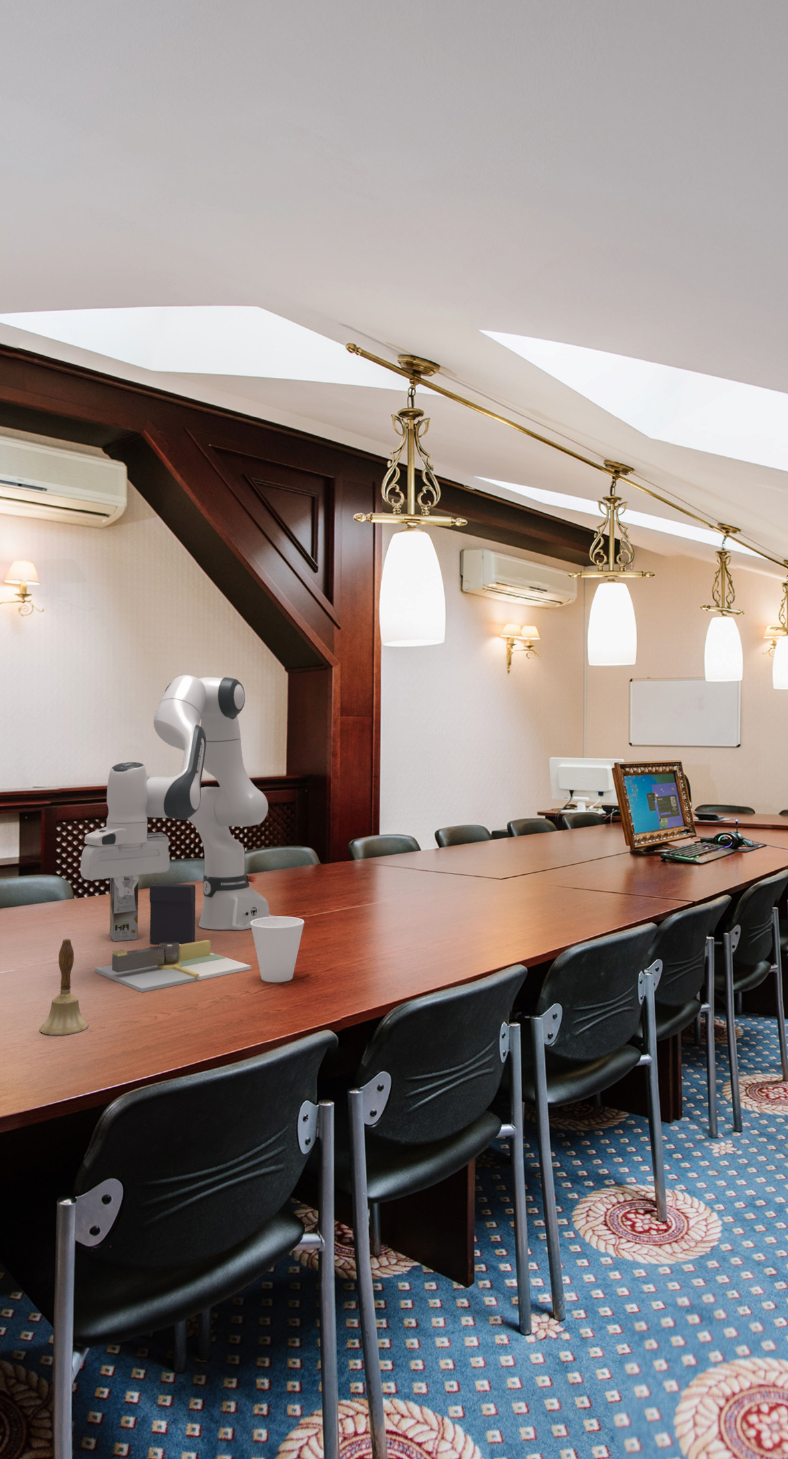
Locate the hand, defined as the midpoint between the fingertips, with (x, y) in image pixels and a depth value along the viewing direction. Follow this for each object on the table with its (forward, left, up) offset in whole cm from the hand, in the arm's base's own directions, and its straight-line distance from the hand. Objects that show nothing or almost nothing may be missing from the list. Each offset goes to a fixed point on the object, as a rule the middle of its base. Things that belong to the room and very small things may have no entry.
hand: (126, 895), depth 196 cm
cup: (-22, +27, -17) cm, 39 cm away
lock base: (-8, +6, -17) cm, 20 cm away
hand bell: (+26, +28, -17) cm, 42 cm away
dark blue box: (-22, -18, -17) cm, 33 cm away
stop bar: (-2, +5, -15) cm, 16 cm away
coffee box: (-16, -33, -17) cm, 40 cm away
